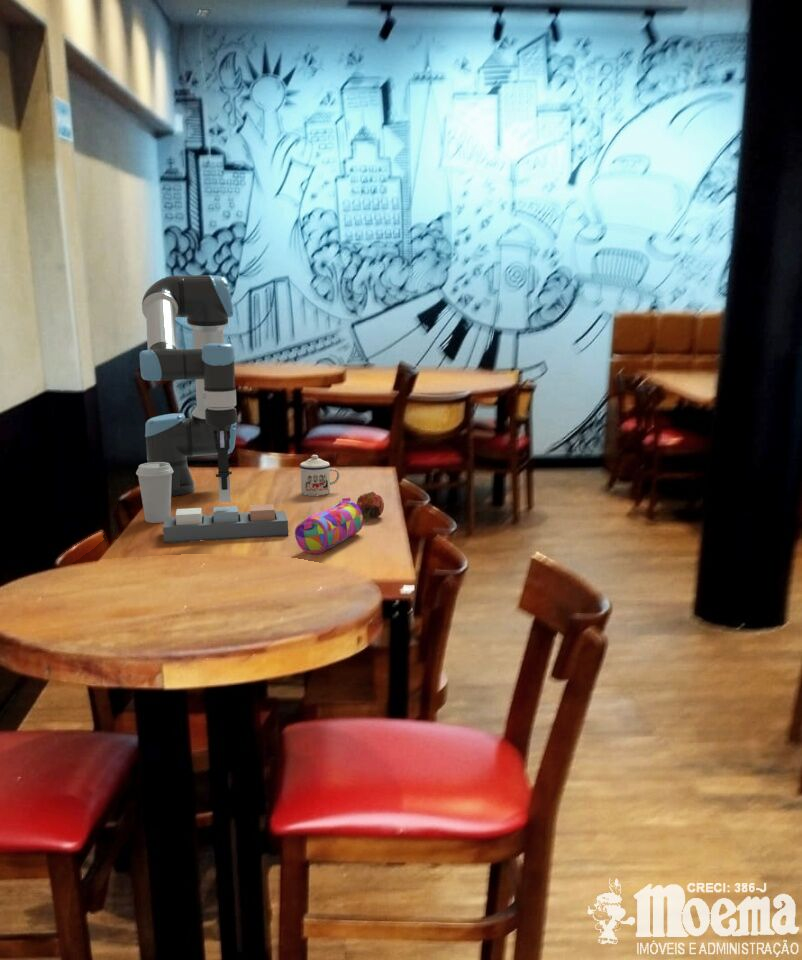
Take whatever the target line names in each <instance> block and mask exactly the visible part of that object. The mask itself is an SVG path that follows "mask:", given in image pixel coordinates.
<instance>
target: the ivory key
mask: <svg viewBox="0 0 802 960" xmlns="http://www.w3.org/2000/svg"><path fill="white" fill-rule="evenodd" d="M202 512H203V511H202V507H191V508H189V507H188V508H176V512H175V517H176V525H189V524H202V515H203V514H202Z"/></svg>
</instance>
